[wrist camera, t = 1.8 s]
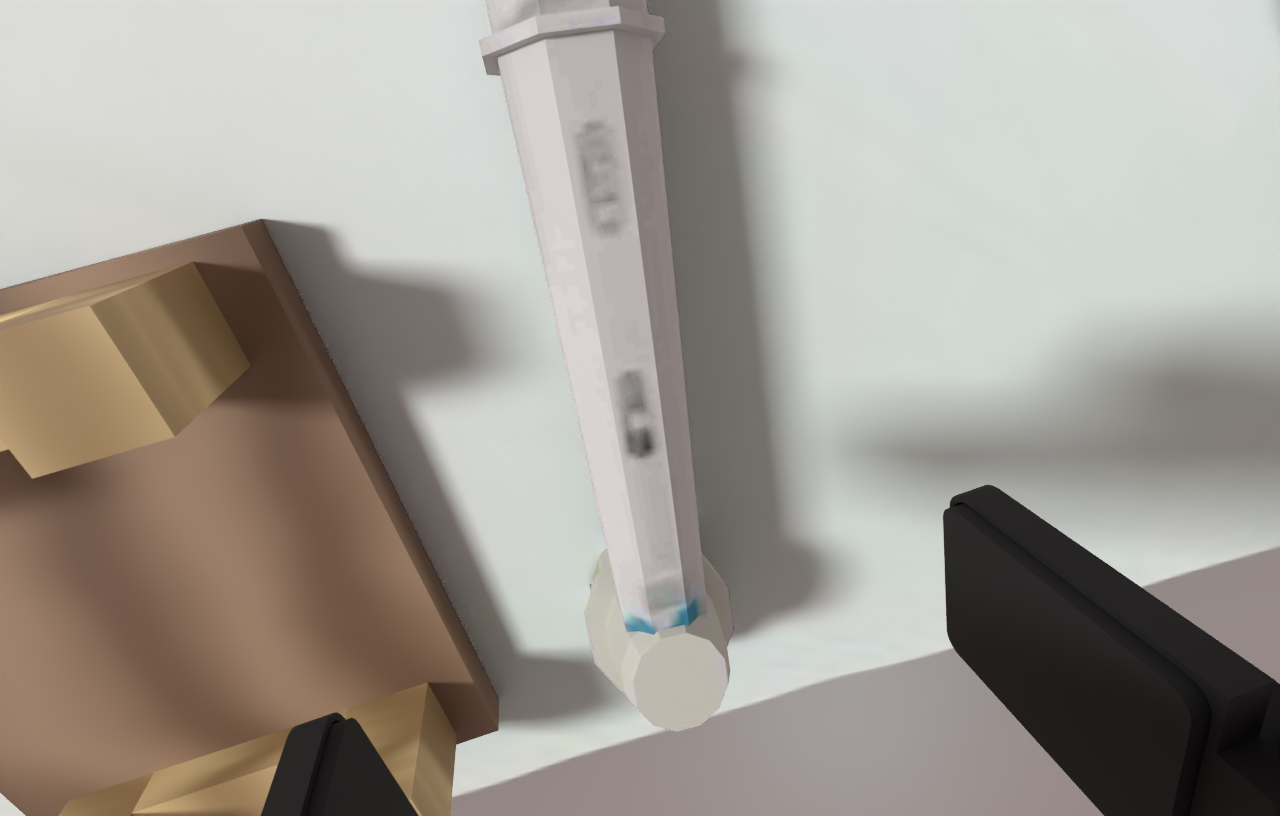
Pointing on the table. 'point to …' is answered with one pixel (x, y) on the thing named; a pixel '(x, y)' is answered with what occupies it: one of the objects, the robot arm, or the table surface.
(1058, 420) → the table surface
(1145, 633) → the robot arm
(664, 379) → the electric toothbrush handle
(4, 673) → the rack
